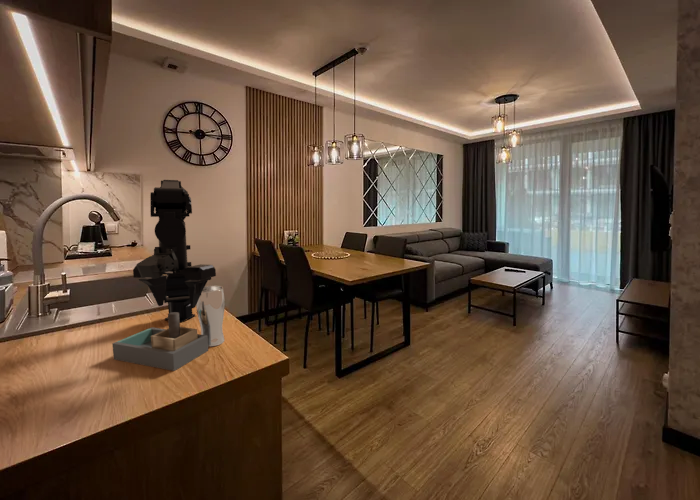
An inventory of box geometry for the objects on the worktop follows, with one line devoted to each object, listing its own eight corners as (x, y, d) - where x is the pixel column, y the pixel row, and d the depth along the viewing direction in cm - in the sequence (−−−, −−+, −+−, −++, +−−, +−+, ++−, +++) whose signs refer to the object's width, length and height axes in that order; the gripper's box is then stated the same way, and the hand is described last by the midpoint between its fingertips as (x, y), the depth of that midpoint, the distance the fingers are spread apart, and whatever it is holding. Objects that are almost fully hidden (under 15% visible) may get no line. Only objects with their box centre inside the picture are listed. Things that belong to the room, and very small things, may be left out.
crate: (152, 356, 79) (149, 316, 77) (175, 344, 85) (173, 308, 84) (176, 360, 77) (173, 320, 75) (198, 348, 83) (196, 310, 82)
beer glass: (216, 348, 86) (213, 292, 84) (192, 346, 87) (189, 290, 85) (231, 338, 93) (229, 285, 91) (208, 336, 94) (206, 284, 92)
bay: (113, 359, 80) (112, 343, 79) (152, 341, 90) (151, 327, 90) (174, 370, 75) (173, 354, 74) (208, 350, 85) (207, 335, 84)
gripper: (108, 244, 73) (114, 314, 74) (181, 245, 68) (185, 319, 70) (150, 240, 83) (154, 301, 85) (215, 241, 79) (218, 305, 80)
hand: (176, 306), depth 80 cm, fingers open, 9 cm apart
